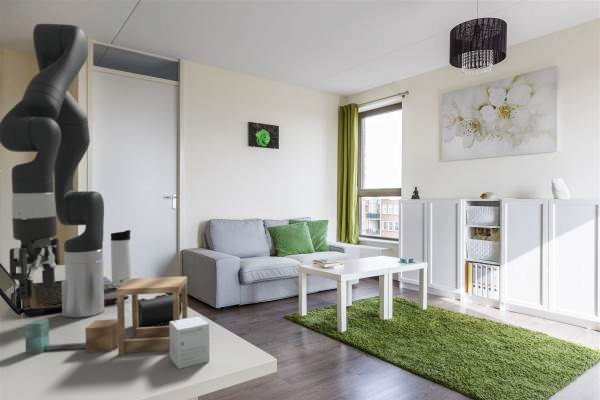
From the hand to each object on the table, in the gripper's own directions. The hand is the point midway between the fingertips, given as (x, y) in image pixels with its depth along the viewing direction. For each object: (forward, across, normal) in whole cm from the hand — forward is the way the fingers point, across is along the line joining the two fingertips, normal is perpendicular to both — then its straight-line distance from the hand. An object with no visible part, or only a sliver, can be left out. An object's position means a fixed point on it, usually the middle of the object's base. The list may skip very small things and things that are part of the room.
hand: (38, 292), depth 82 cm
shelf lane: (+12, +1, +23) cm, 26 cm away
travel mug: (+14, -56, -1) cm, 57 cm away
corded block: (+12, +1, +7) cm, 14 cm away
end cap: (+13, -12, +20) cm, 27 cm away
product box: (+12, +10, +32) cm, 36 cm away
